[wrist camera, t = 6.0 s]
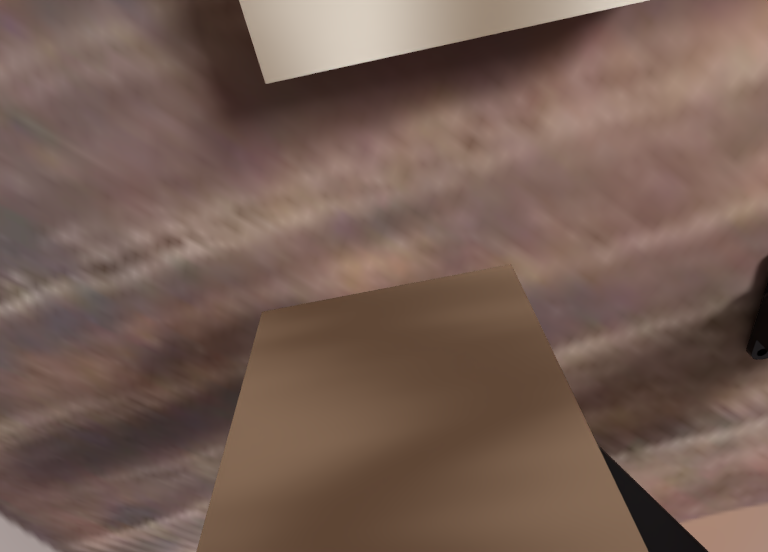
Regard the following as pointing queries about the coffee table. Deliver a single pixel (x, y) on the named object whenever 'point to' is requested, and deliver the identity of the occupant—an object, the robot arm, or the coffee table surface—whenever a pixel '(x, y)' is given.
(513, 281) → the walnut block
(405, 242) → the coffee table surface
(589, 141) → the coffee table surface
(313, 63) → the birch block
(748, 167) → the coffee table surface
